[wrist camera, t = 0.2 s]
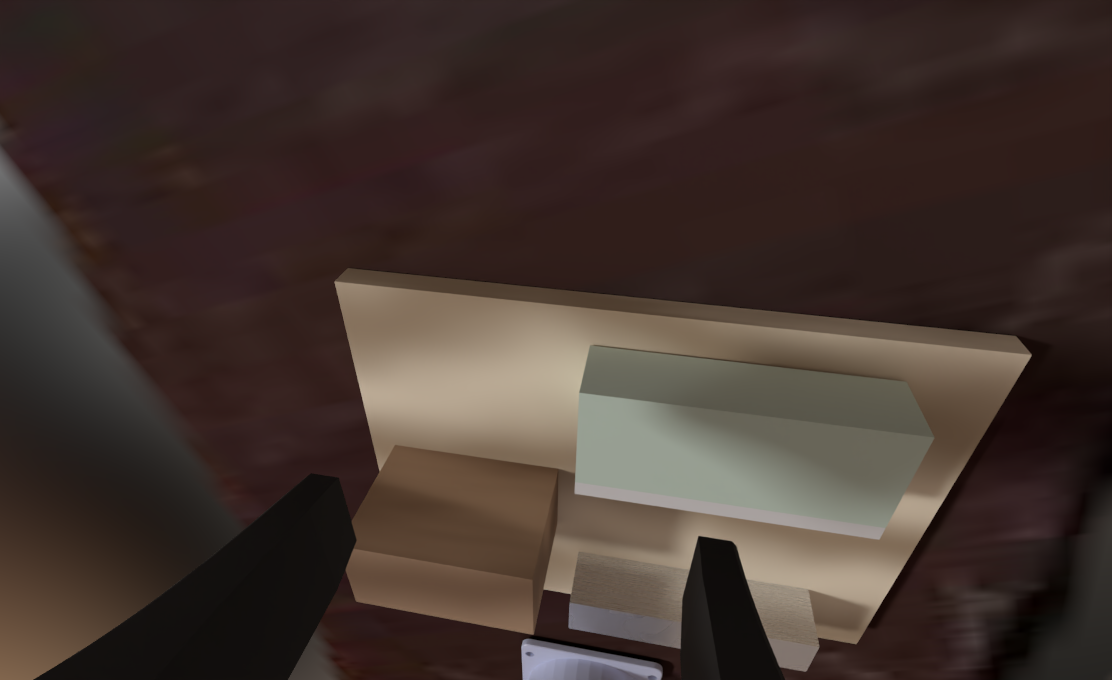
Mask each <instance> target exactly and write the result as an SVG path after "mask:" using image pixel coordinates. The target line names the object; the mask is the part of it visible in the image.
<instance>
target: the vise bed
mask: <svg viewBox="0 0 1112 680" xmlns="http://www.w3.org/2000/svg"><path fill="white" fill-rule="evenodd" d="M335 285H336V290H337V294H338V298H339V302H340V306H341V311H342V315H343V319H344V323H345V327H346V332H347V336H348V340H349V344H350V348H351V353H352V357H353V361H354V365H355V369H356V374H357V378H358V382H359V386H360V390H361V395H362V399H363V403H364V407H365V411H366V416H367V420H368V424H369V428H370V432H371V437H372V441H373V445H374V449H375V453H376V457H377V462H378V466H379V470H380V471H381V469H382V467H383V465H384V463H385V462H386V460H387V458H388V456H389V455H390V453H391V451H392V449H393V448H394V446H395V445H399V446H406V447H413V448H420V449H426V450H433V451H440V452H447V453H454V454H461V455H468V456H475V457H481V458H488V459H495V460H502V461H509V462H516V463H523V464H530V465H536V466H543V467H550V468H557V469H559V471H558V517H557V528H556V532H555V537H554V542H553V546H552V551H551V556H550V560H549V565H548V570H547V574H546V579H545V584H544V588H543V589H546V590H551V591H557V592H563V593H568V594H571V593H572V587H573V581H574V575H575V569H576V563H577V557H578V551H579V552H585V553H591V554H597V555H603V556H609V557H615V558H621V559H627V560H633V561H639V562H645V563H651V564H657V565H663V566H670V567H676V568H682V569H688V570H690V567H691V563H692V559H693V555H694V551H695V547H696V543H697V539H698V536H703V537H709V538H716V539H722V540H728V541H732V542H733V543H734V544H735V545H736V546H737V549H738V553H739V557H740V560H741V564H742V567H743V570H744V574H745V577H746V579H748V580H754V581H760V582H766V583H773V584H779V585H785V586H791V587H797V588H803V589H808V591H809V596H810V601H811V606H812V611H813V617H814V622H815V627H816V632H817V637H819V638H824V639H830V640H836V641H842V642H847V643H853V644H857V643H858V641H859V639H860V638H861V636H862V634H863V633H864V631H865V629H866V628H867V626H868V624H869V623H870V621H871V619H872V618H873V616H874V614H875V613H876V611H877V610H878V608H879V606H880V605H881V603H882V601H883V600H884V598H885V596H886V595H887V593H888V591H889V590H890V588H891V586H892V585H893V583H894V582H895V580H896V578H897V577H898V575H899V573H900V572H901V570H902V568H903V567H904V565H905V563H906V562H907V560H908V558H909V557H910V555H911V554H912V552H913V550H914V549H915V547H916V545H917V544H918V542H919V540H920V539H921V537H922V535H923V534H924V532H925V530H926V529H927V527H928V526H929V524H930V522H931V521H932V519H933V517H934V516H935V514H936V512H937V511H938V509H939V507H940V506H941V504H942V502H943V501H944V499H945V498H946V496H947V494H948V493H949V491H950V489H951V488H952V486H953V484H954V483H955V481H956V479H957V478H958V476H959V474H960V473H961V471H962V470H963V468H964V466H965V465H966V463H967V461H968V460H969V458H970V456H971V455H972V453H973V451H974V450H975V448H976V446H977V445H978V443H979V442H980V440H981V438H982V437H983V435H984V433H985V432H986V430H987V428H988V427H989V425H990V423H991V422H992V420H993V418H994V417H995V415H996V414H997V412H998V410H999V409H1000V407H1001V405H1002V404H1003V402H1004V400H1005V399H1006V397H1007V395H1008V394H1009V392H1010V390H1011V389H1012V387H1013V385H1014V384H1015V382H1016V381H1017V379H1018V377H1019V376H1020V374H1021V372H1022V371H1023V369H1024V367H1025V366H1026V364H1027V362H1028V361H1029V359H1030V357H1031V356H1032V355H1031V353H1030V352H1029V351H1028V350H1027V349H1026V347H1025V346H1024V345H1023V344H1022V343H1021V341H1020V340H1019V339H1018V338H1017V337H1016V336H1011V335H1001V334H991V333H981V332H971V331H962V330H952V329H942V328H932V327H922V326H912V325H903V324H893V323H883V322H873V321H863V320H853V319H844V318H834V317H824V316H814V315H804V314H794V313H785V312H775V311H765V310H755V309H745V308H735V307H726V306H716V305H706V304H696V303H686V302H676V301H667V300H657V299H647V298H637V297H627V296H617V295H608V294H598V293H588V292H578V291H568V290H559V289H549V288H539V287H529V286H519V285H509V284H500V283H490V282H480V281H470V280H460V279H450V278H441V277H431V276H421V275H411V274H401V273H391V272H382V271H372V270H362V269H352V268H348V269H347V270H346V271H345V272H344V273H343V274H342V275H341V276H340V277H339V278H338V279H337V280H336V281H335ZM590 346H599V347H608V348H617V349H625V350H634V351H643V352H651V353H660V354H669V355H678V356H686V357H695V358H704V359H713V360H721V361H730V362H739V363H747V364H756V365H765V366H774V367H782V368H791V369H800V370H809V371H817V372H826V373H835V374H844V375H852V376H861V377H870V378H878V379H887V380H896V381H905V382H907V384H908V386H909V388H910V390H911V392H912V394H913V396H914V398H915V400H916V402H917V404H918V406H919V408H920V410H921V412H922V414H923V416H924V418H925V419H926V421H927V423H928V425H929V427H930V429H931V431H932V433H933V435H934V437H935V438H934V440H933V442H932V443H931V445H930V447H929V449H928V451H927V453H926V454H925V456H924V458H923V460H922V462H921V464H920V466H919V467H918V469H917V471H916V473H915V475H914V477H913V478H912V480H911V482H910V484H909V486H908V488H907V490H906V491H905V493H904V495H903V497H902V499H901V501H900V502H899V504H898V506H897V508H896V510H895V512H894V514H893V515H892V517H891V519H890V521H889V523H888V525H887V526H886V528H885V530H884V532H883V534H882V536H881V538H880V539H879V540H877V539H871V538H864V537H857V536H851V535H844V534H837V533H831V532H824V531H818V530H811V529H804V528H798V527H791V526H785V525H778V524H771V523H765V522H758V521H751V520H745V519H738V518H732V517H725V516H718V515H712V514H705V513H698V512H692V511H685V510H679V509H672V508H665V507H659V506H652V505H646V504H639V503H632V502H626V501H619V500H612V499H606V498H599V497H593V496H586V495H579V494H575V472H576V451H577V429H578V407H579V391H580V387H581V383H582V378H583V374H584V369H585V365H586V361H587V356H588V352H589V348H590Z"/></svg>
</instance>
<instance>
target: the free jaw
mask: <svg viewBox="0 0 1112 680" xmlns="http://www.w3.org/2000/svg"><path fill="white" fill-rule="evenodd" d="M934 438H935V437H934V435H933V433H932V431H931V429H930V427H929V425H928V423H927V421H926V419H925V418H924V416H923V414H922V412H921V410H920V408H919V406H918V404H917V402H916V400H915V398H914V396H913V394H912V392H911V390H910V388H909V386H908V384H907V382H905V381H896V380H887V379H878V378H870V377H861V376H852V375H844V374H835V373H826V372H817V371H809V370H800V369H791V368H782V367H774V366H765V365H756V364H747V363H739V362H730V361H721V360H713V359H704V358H695V357H686V356H678V355H669V354H660V353H651V352H643V351H634V350H625V349H617V348H608V347H599V346H590V348H589V352H588V356H587V361H586V365H585V369H584V374H583V378H582V383H581V387H580V391H579V407H578V429H577V451H576V472H575V494H579V495H586V496H593V497H599V498H606V499H612V500H619V501H626V502H632V503H639V504H646V505H652V506H659V507H665V508H672V509H679V510H685V511H692V512H698V513H705V514H712V515H718V516H725V517H732V518H738V519H745V520H751V521H758V522H765V523H771V524H778V525H785V526H791V527H798V528H804V529H811V530H818V531H824V532H831V533H837V534H844V535H851V536H857V537H864V538H871V539H877V540H879V539H880V538H881V536H882V534H883V532H884V530H885V528H886V526H887V525H888V523H889V521H890V519H891V517H892V515H893V514H894V512H895V510H896V508H897V506H898V504H899V502H900V501H901V499H902V497H903V495H904V493H905V491H906V490H907V488H908V486H909V484H910V482H911V480H912V478H913V477H914V475H915V473H916V471H917V469H918V467H919V466H920V464H921V462H922V460H923V458H924V456H925V454H926V453H927V451H928V449H929V447H930V445H931V443H932V442H933V440H934Z"/></svg>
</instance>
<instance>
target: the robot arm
mask: <svg viewBox="0 0 1112 680" xmlns="http://www.w3.org/2000/svg"><path fill="white" fill-rule="evenodd" d="M356 541H357V539H356V536H355V532H354V529H353V525H352V522H351V519H350V515H349V512H348V508H347V505H346V501H345V498H344V494H343V491H342V488H341V484H340V481H339V478H337V477H330V476H324V475H318V474H312V473H311V474H310V475H308V476H307V477H306V478H305V479H304V480H302V481H301V482H300V483H299V484H297V485H296V486H295V487H294V488H293V489H292V490H290V491H289V492H288V493H287V494H286V495H284V496H283V497H282V498H281V499H280V500H279V501H277V502H276V503H275V504H274V505H273V506H271V507H270V508H269V509H268V510H267V511H266V512H264V513H263V514H262V515H261V516H260V517H258V518H257V519H256V520H255V521H254V522H253V523H251V524H250V525H249V526H248V527H247V528H245V529H244V530H243V531H242V532H241V533H239V534H238V535H237V536H236V537H234V538H233V539H232V540H231V541H230V542H228V543H227V544H226V545H225V546H223V547H222V548H221V549H220V550H219V551H217V552H216V553H215V554H214V555H212V556H211V557H210V558H209V559H207V560H206V561H205V562H204V563H202V564H201V565H200V566H199V567H197V568H196V569H195V570H194V571H192V572H191V573H190V574H188V575H187V576H185V577H184V578H183V579H181V580H180V581H179V582H178V583H176V584H175V585H174V586H172V587H171V588H170V589H168V590H167V591H166V592H164V593H163V594H162V595H161V596H159V597H158V598H156V599H155V600H154V601H152V602H151V603H150V604H148V605H147V606H146V607H144V608H143V609H141V610H140V611H138V612H137V613H136V614H134V615H133V616H131V617H130V618H129V619H127V620H126V621H124V622H123V623H121V624H120V625H118V626H117V627H115V628H114V629H113V630H111V631H110V632H108V633H107V634H105V635H104V636H102V637H101V638H99V639H98V640H96V641H95V642H93V643H92V644H90V645H89V646H87V647H86V648H84V649H82V650H81V651H79V652H78V653H76V654H74V655H73V656H71V657H70V658H68V659H66V660H65V661H63V662H62V663H60V664H59V665H57V666H55V667H54V668H52V669H50V670H49V671H47V672H46V673H44V674H42V675H40V676H39V677H37V678H36V679H34V680H288V678H289V677H290V675H291V673H292V671H293V669H294V667H295V666H296V664H297V662H298V660H299V658H300V657H301V655H302V653H303V651H304V649H305V647H306V646H307V644H308V642H309V640H310V638H311V637H312V635H313V633H314V631H315V629H316V628H317V626H318V624H319V622H320V620H321V618H322V616H323V615H324V613H325V611H326V609H327V607H328V605H329V604H330V602H331V600H332V598H333V596H334V594H335V592H336V590H337V588H338V586H339V583H340V581H341V579H342V576H343V574H344V572H345V569H346V567H347V564H348V562H349V559H350V557H351V554H352V551H353V549H354V546H355V544H356ZM521 648H522V670H523V680H661V678H662V673H663V668H662V666H661V665H660V664H658V663H656V662H651V661H646V660H641V659H635V658H630V657H625V656H619V655H614V654H609V653H603V652H598V651H593V650H588V649H582V648H577V647H572V646H566V645H561V644H556V643H550V642H545V641H540V640H534V639H525V640H523V643H522V647H521ZM680 657H681V676H682V680H785V679H784V676H783V674H782V671H781V669H780V667H779V664H778V662H777V659H776V657H775V655H774V652H773V650H772V647H771V645H770V643H769V640H768V638H767V635H766V633H765V630H764V628H763V625H762V622H761V620H760V617H759V614H758V611H757V609H756V606H755V603H754V600H753V598H752V595H751V592H750V589H749V586H748V583H747V580H746V577H745V574H744V570H743V567H742V564H741V560H740V557H739V553H738V549H737V546H736V545H735V544H734V543H733V542H732V541H728V540H722V539H716V538H709V537H703V536H698V539H697V543H696V547H695V551H694V555H693V559H692V563H691V567H690V570H689V574H688V578H687V582H686V586H685V590H684V594H683V597H682V621H681V649H680Z"/></svg>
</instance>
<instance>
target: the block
mask: <svg viewBox="0 0 1112 680" xmlns="http://www.w3.org/2000/svg"><path fill="white" fill-rule="evenodd" d="M558 471H559V469H557V468H550V467H543V466H536V465H530V464H523V463H516V462H509V461H502V460H495V459H488V458H481V457H475V456H468V455H461V454H454V453H447V452H440V451H433V450H426V449H420V448H413V447H406V446H399V445H395V446H394V448H393V449H392V451H391V453H390V455H389V456H388V458H387V460H386V462H385V463H384V465H383V467H382V469H381V471H380V472H379V474H378V476H377V478H376V479H375V481H374V483H373V485H372V486H371V488H370V490H369V492H368V493H367V495H366V497H365V499H364V501H363V502H362V504H361V506H360V508H359V509H358V511H357V513H356V515H355V516H354V518H353V520H352V525H353V529H354V532H355V536H356V539H357V541H356V544H355V546H354V549H353V551H352V554H351V557H350V559H349V562H348V564H347V567H346V572H347V575H348V578H349V581H350V584H351V587H352V590H353V593H354V596H355V599H356V602H362V603H367V604H372V605H378V606H383V607H388V608H394V609H399V610H404V611H410V612H415V613H420V614H426V615H431V616H436V617H442V618H447V619H453V620H458V621H463V622H469V623H474V624H479V625H485V626H490V627H495V628H501V629H506V630H511V631H517V632H522V633H527V634H533V635H534V630H535V626H536V621H537V616H538V612H539V607H540V602H541V598H542V593H543V588H544V584H545V579H546V574H547V570H548V565H549V560H550V556H551V551H552V546H553V542H554V537H555V532H556V528H557V517H558Z"/></svg>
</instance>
